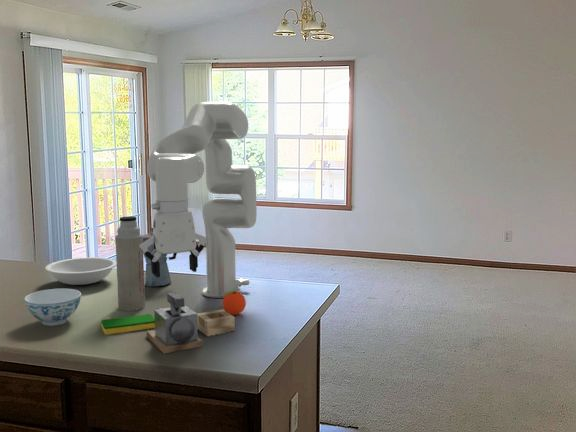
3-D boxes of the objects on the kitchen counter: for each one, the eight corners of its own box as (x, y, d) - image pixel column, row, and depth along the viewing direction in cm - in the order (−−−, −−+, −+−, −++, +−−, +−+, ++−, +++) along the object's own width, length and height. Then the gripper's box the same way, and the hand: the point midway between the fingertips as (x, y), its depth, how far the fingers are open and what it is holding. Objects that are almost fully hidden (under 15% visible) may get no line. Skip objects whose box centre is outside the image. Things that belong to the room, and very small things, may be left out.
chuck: (199, 341, 155) (198, 314, 154) (167, 347, 151) (166, 320, 150) (174, 321, 171) (173, 296, 170) (144, 326, 167) (143, 301, 166)
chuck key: (185, 340, 155) (184, 298, 154) (175, 342, 154) (175, 299, 152) (177, 333, 161) (176, 291, 159) (167, 334, 160) (166, 293, 158)
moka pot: (139, 280, 220) (137, 225, 217) (182, 279, 221) (181, 225, 218) (134, 287, 210) (132, 230, 207) (180, 287, 212) (178, 229, 208)
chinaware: (27, 317, 179) (25, 291, 178) (81, 311, 184) (80, 286, 183) (25, 333, 165) (23, 305, 164) (83, 326, 171) (82, 300, 169)
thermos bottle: (149, 303, 192) (146, 215, 188) (138, 311, 184) (134, 219, 180) (125, 302, 194) (122, 214, 189) (113, 309, 186) (109, 218, 181)
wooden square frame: (222, 322, 174) (222, 309, 173) (234, 331, 167) (234, 317, 166) (196, 327, 170) (195, 313, 169) (207, 336, 163) (207, 321, 162)
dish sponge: (101, 328, 171) (100, 319, 171) (151, 321, 177) (150, 313, 176) (105, 336, 165) (104, 327, 164) (156, 329, 170) (156, 320, 170)
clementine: (215, 314, 182) (214, 290, 181) (232, 308, 187) (231, 286, 186) (234, 319, 177) (233, 295, 176) (250, 314, 182) (250, 290, 181)
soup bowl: (106, 292, 205) (105, 273, 204) (34, 292, 205) (33, 273, 204) (125, 274, 229) (125, 257, 228) (61, 274, 229) (60, 257, 228)
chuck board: (182, 330, 168) (182, 324, 168) (202, 346, 156) (201, 340, 156) (146, 336, 163) (146, 331, 163) (164, 353, 151) (163, 347, 151)
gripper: (142, 212, 145) (146, 282, 148) (210, 205, 153) (212, 272, 157) (133, 207, 151) (137, 274, 154) (199, 201, 160) (201, 265, 163)
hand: (175, 273), depth 156 cm, fingers open, 9 cm apart
